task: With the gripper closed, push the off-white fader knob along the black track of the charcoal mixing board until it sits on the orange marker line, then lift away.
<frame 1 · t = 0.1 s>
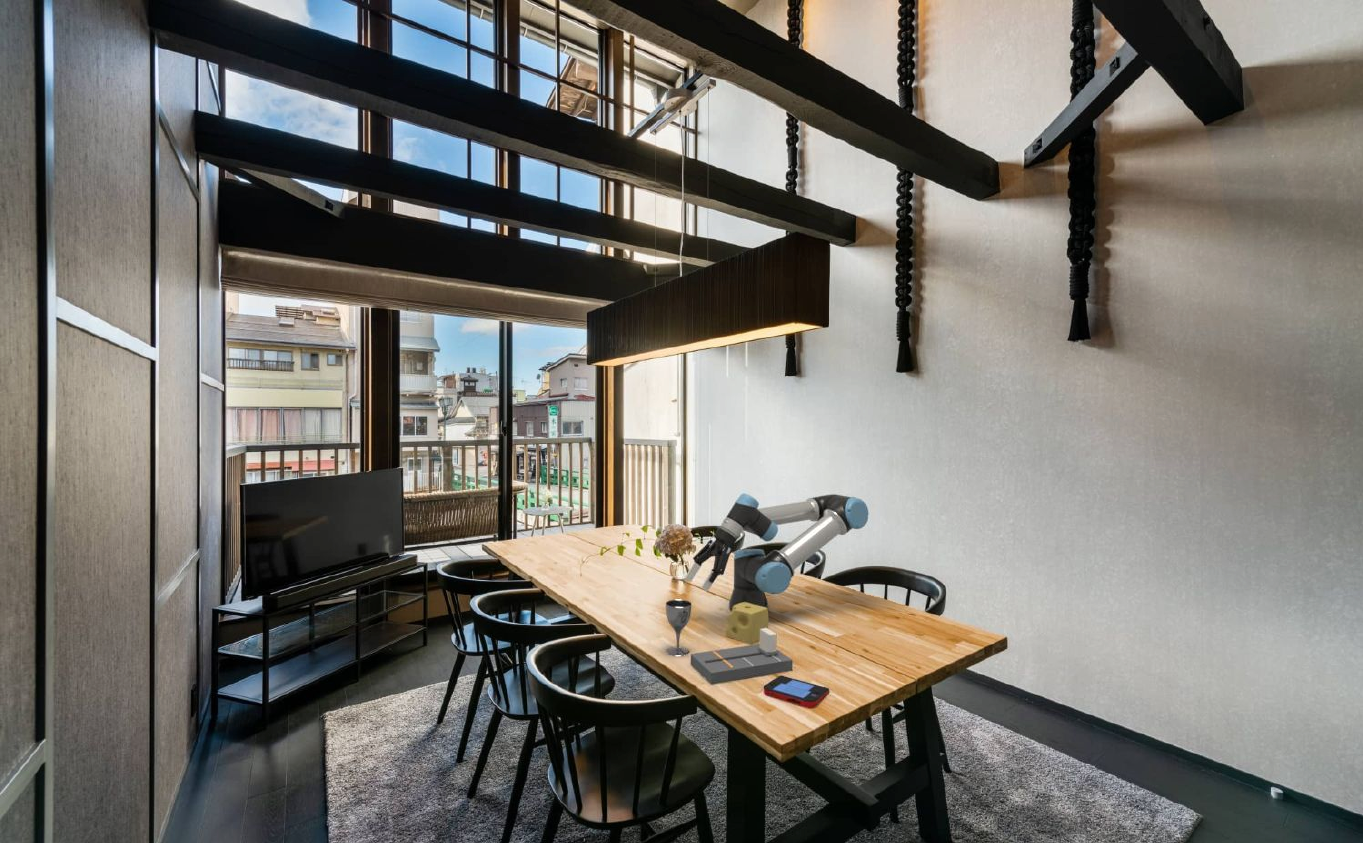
hand: (695, 584, 194), 15 cm above the table, tool tilted 35°, fingers open, 13 cm apart
mixing board: (741, 667, 163), on the table
fader: (768, 641, 166), point 6 cm above the table, slide at -9.0 cm
red and black smartphone: (795, 694, 148), on the table
cheese: (747, 637, 188), on the table
wine glass: (677, 652, 173), on the table
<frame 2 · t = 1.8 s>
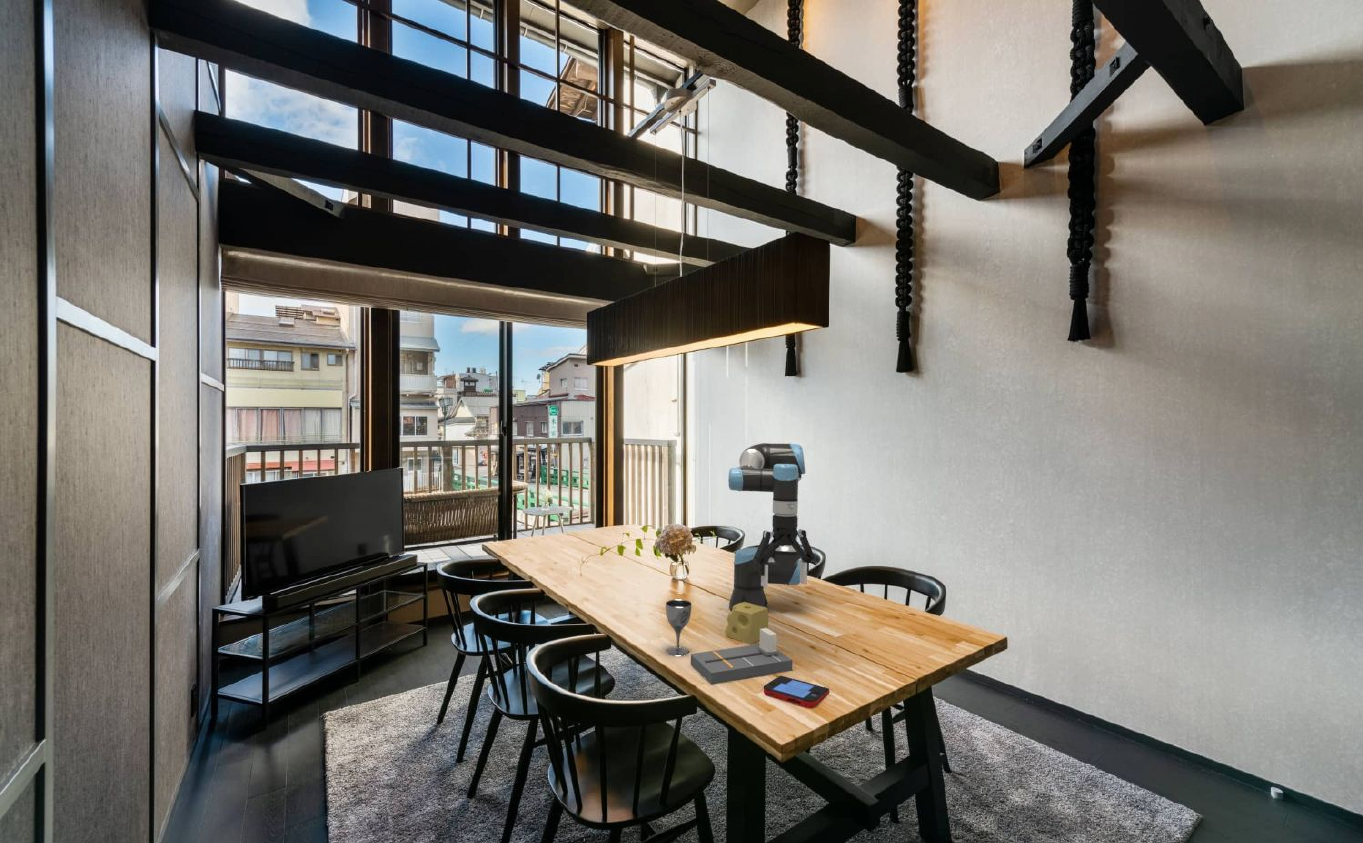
hand: (784, 584, 170), 22 cm above the table, tool pointing down, fingers open, 13 cm apart
nothing on the table moved.
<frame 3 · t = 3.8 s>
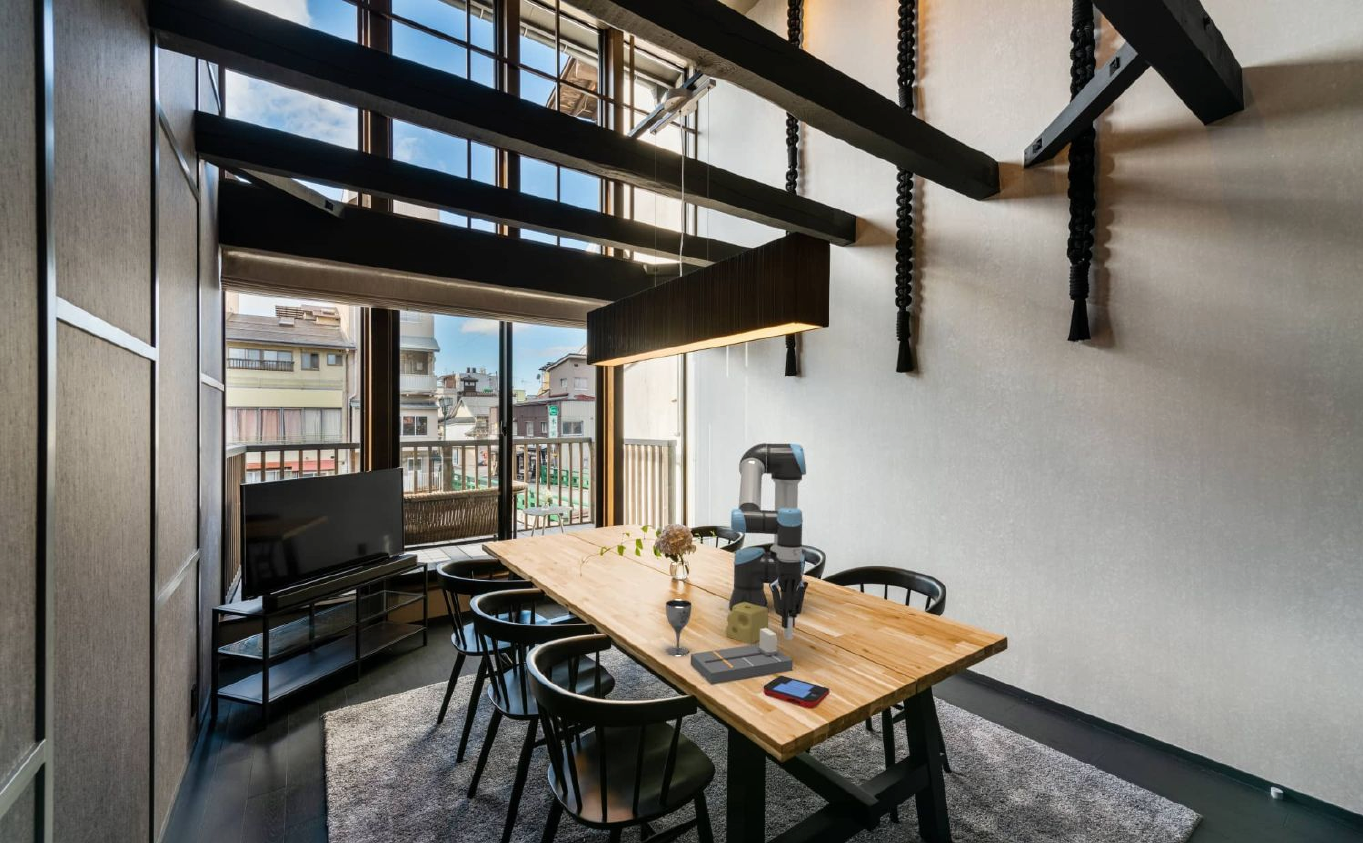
hand: (788, 638, 169), 7 cm above the table, tool pointing down, fingers closed
nothing on the table moved.
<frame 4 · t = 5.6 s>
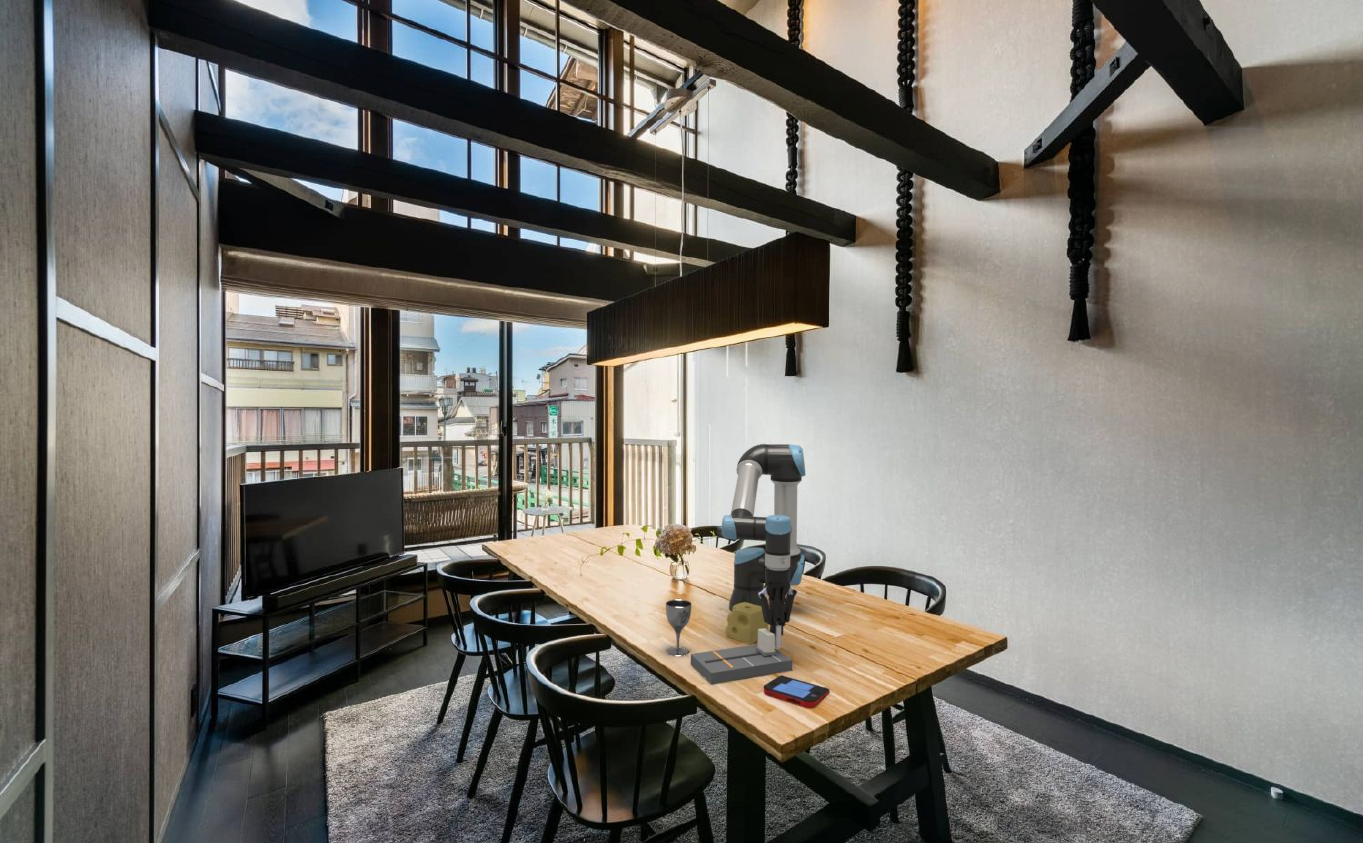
hand: (776, 646, 167), 4 cm above the table, tool pointing down, fingers closed
fader: (766, 641, 166), point 6 cm above the table, slide at -8.3 cm, touching gripper
everything else where it was.
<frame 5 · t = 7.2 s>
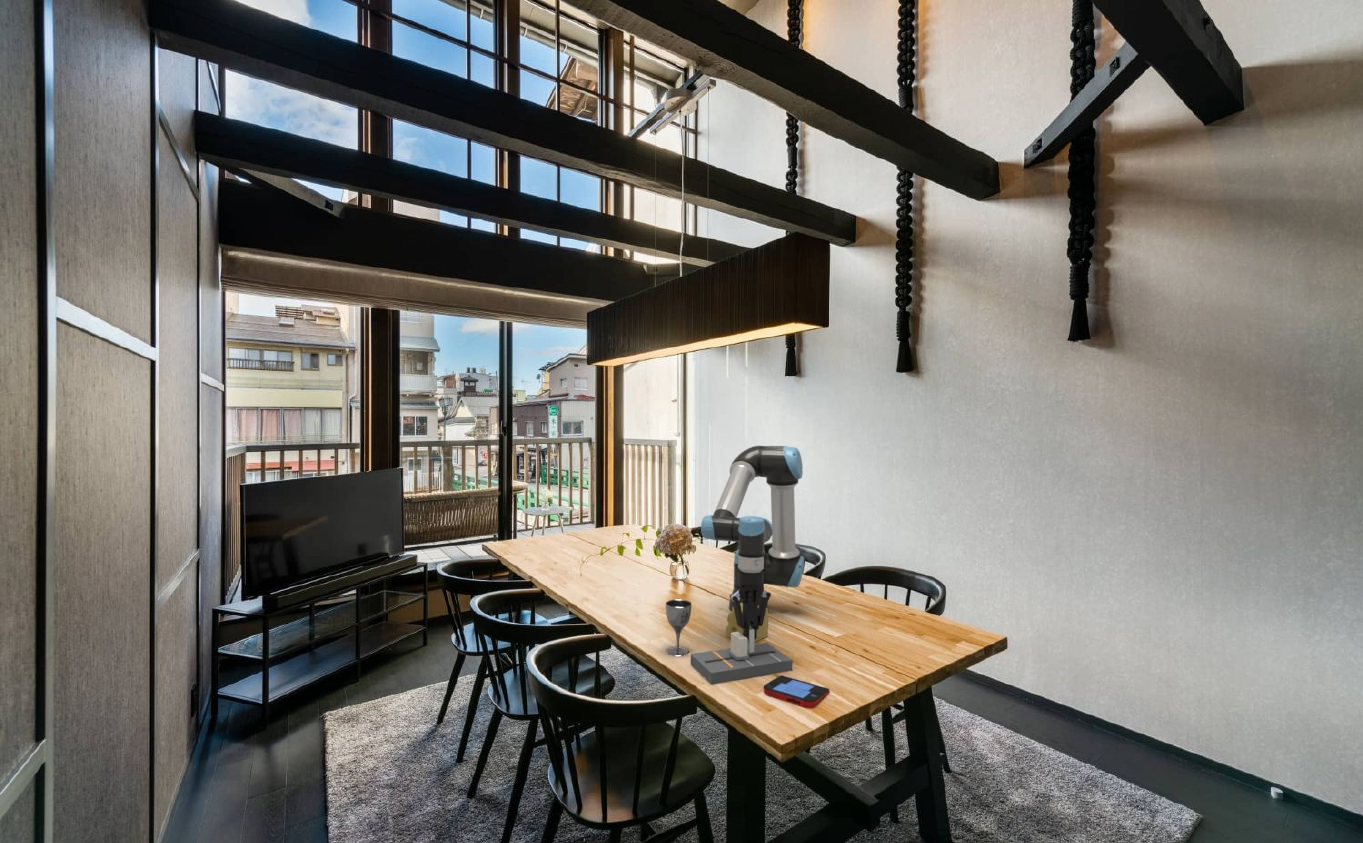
hand: (749, 650, 164), 4 cm above the table, tool pointing down, fingers closed
fader: (738, 645, 163), point 6 cm above the table, slide at 0.8 cm, touching gripper
everything else where it was.
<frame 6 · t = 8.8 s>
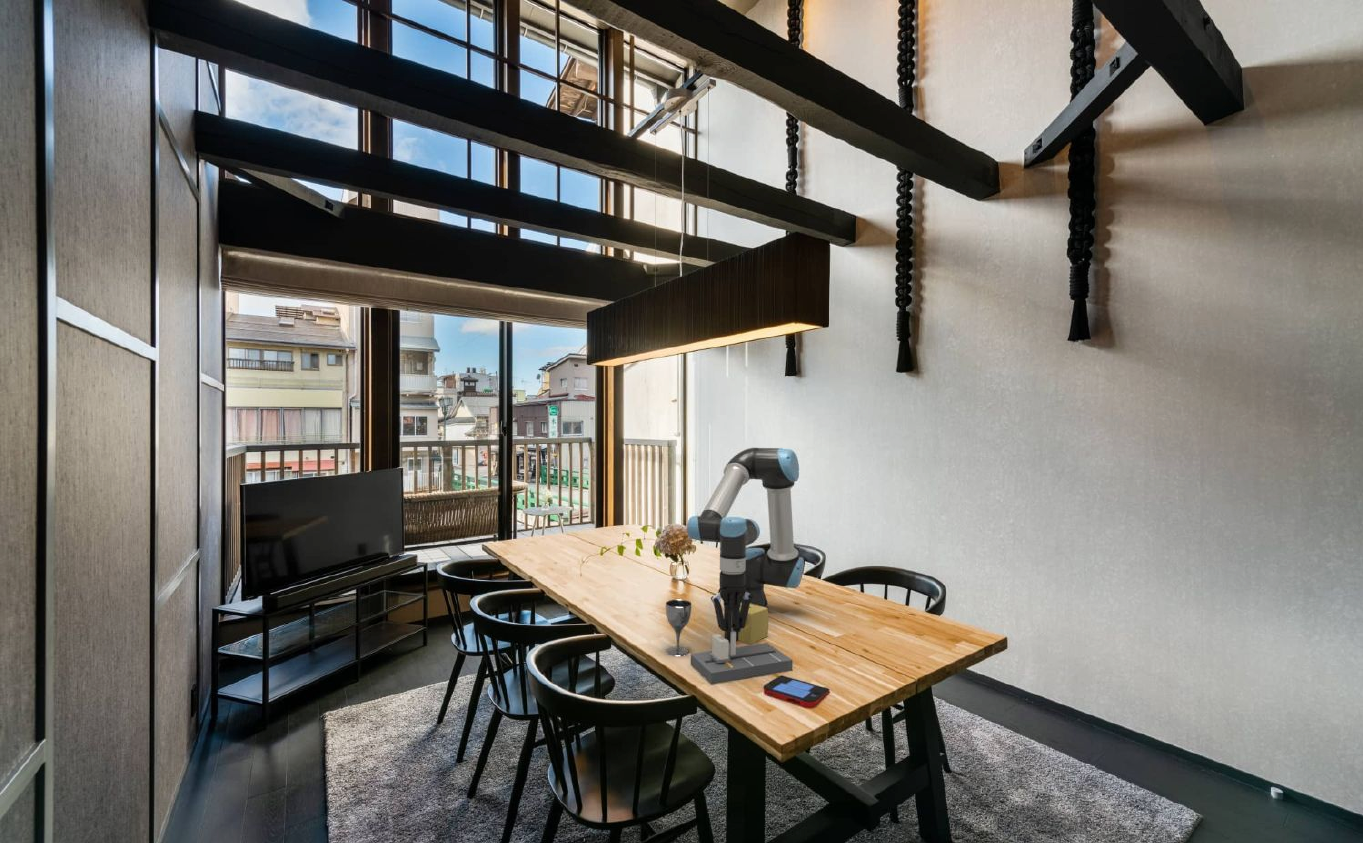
hand: (731, 653, 161), 4 cm above the table, tool pointing down, fingers closed
fader: (720, 648, 160), point 6 cm above the table, slide at 6.9 cm, touching gripper
everything else where it was.
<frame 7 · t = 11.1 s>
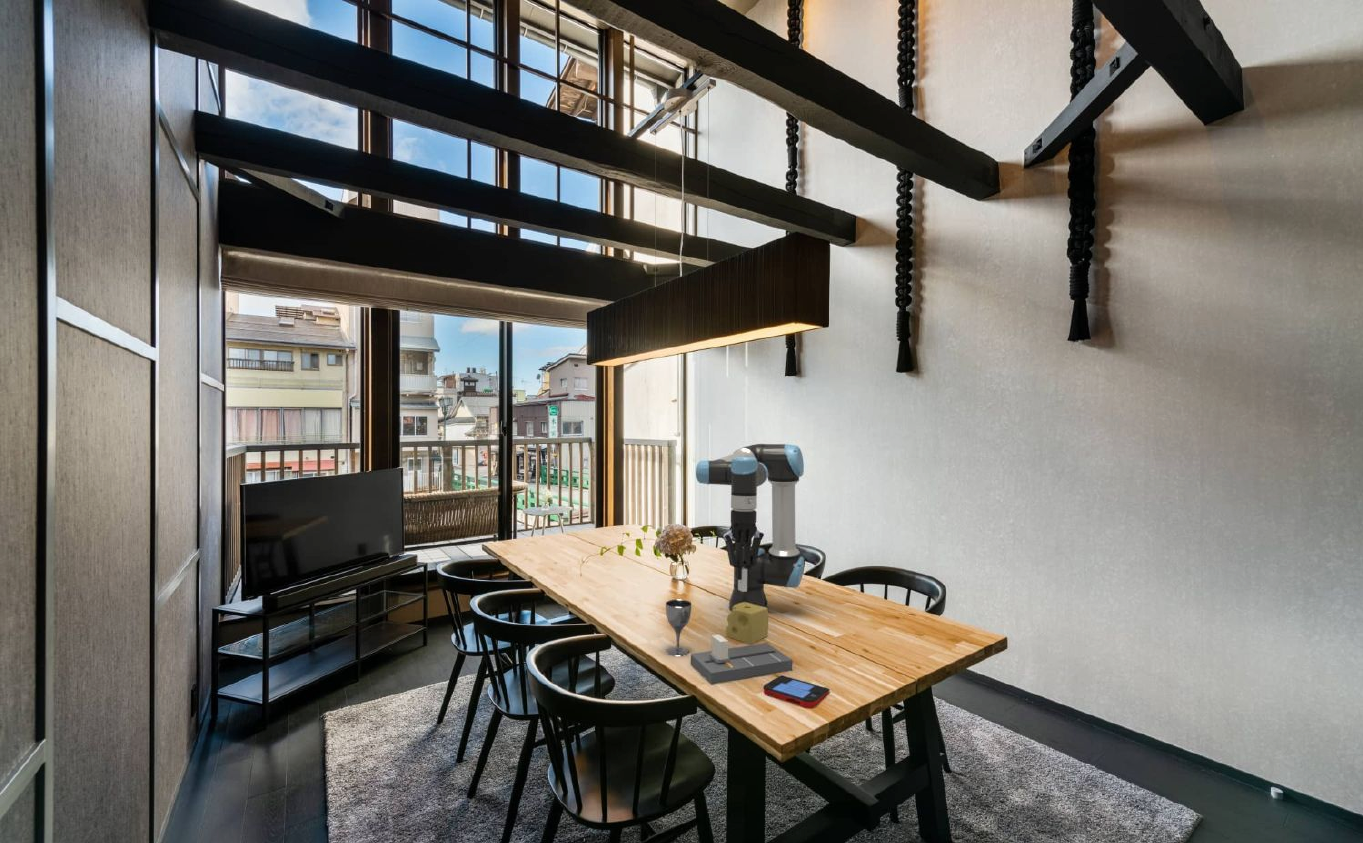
hand: (742, 590, 163), 22 cm above the table, tool pointing down, fingers closed
fader: (719, 648, 160), point 6 cm above the table, slide at 7.1 cm
everything else where it was.
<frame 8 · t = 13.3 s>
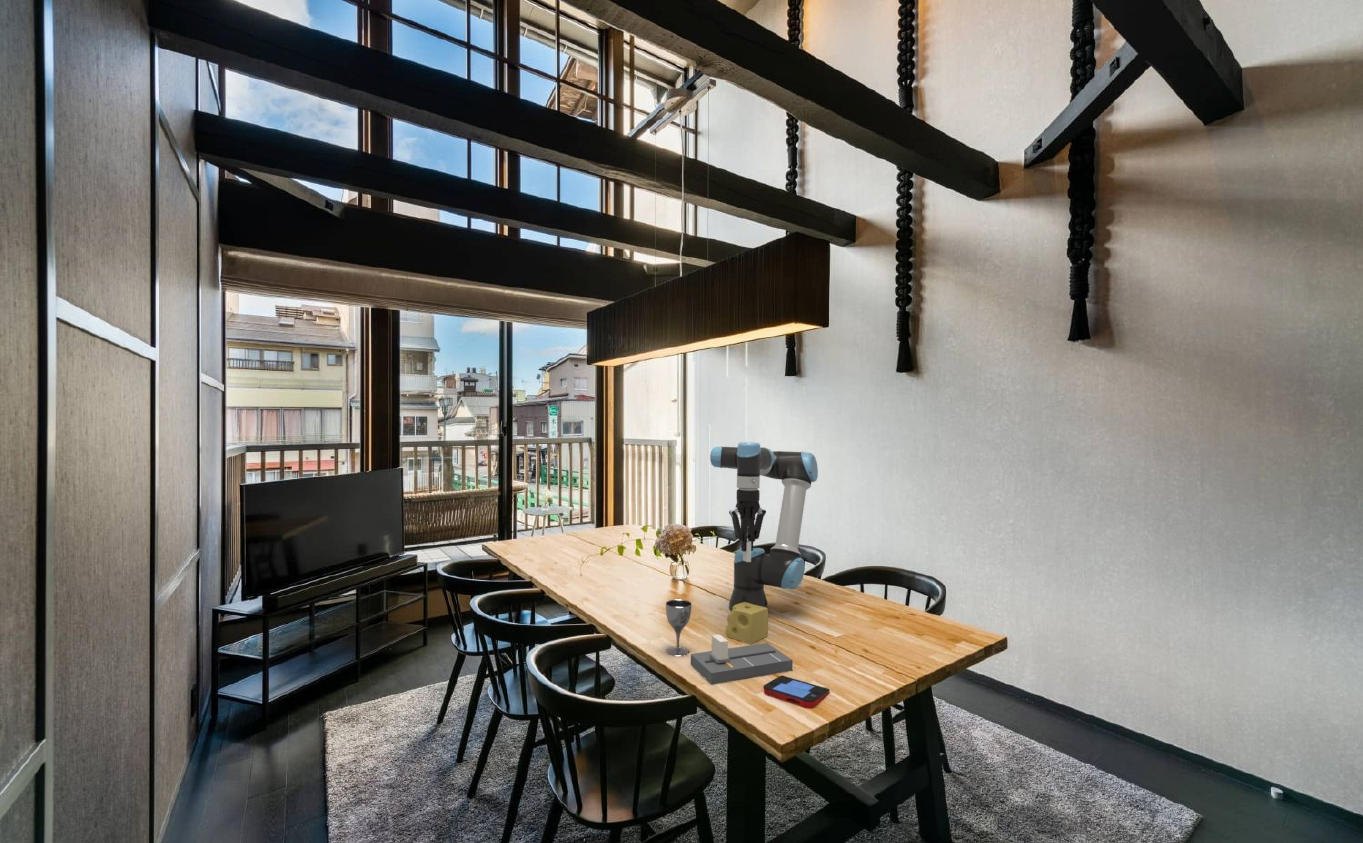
hand: (746, 560, 183), 26 cm above the table, tool pointing down, fingers closed
nothing on the table moved.
at the end: fader slide at 7.1 cm; wine glass moved 0.2 cm from its start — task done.
